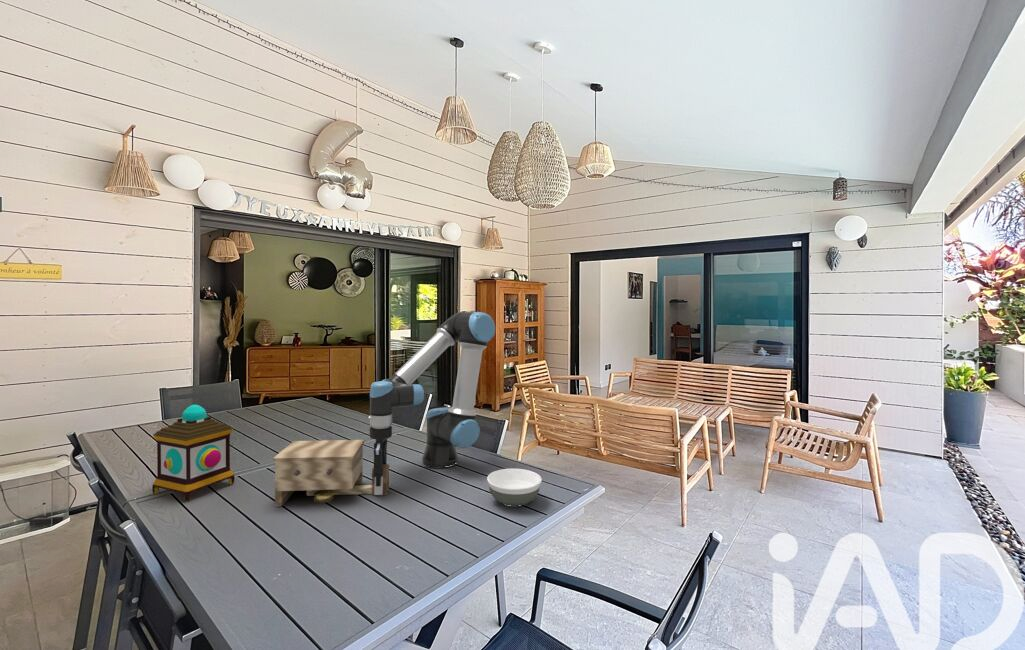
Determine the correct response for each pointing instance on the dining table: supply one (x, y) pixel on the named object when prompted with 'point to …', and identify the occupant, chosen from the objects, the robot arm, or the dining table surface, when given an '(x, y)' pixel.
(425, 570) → the dining table surface
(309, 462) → the cabinet
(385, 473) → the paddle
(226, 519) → the dining table surface
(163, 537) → the dining table surface
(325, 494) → the puck
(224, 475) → the decorative lantern
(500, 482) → the bowl
